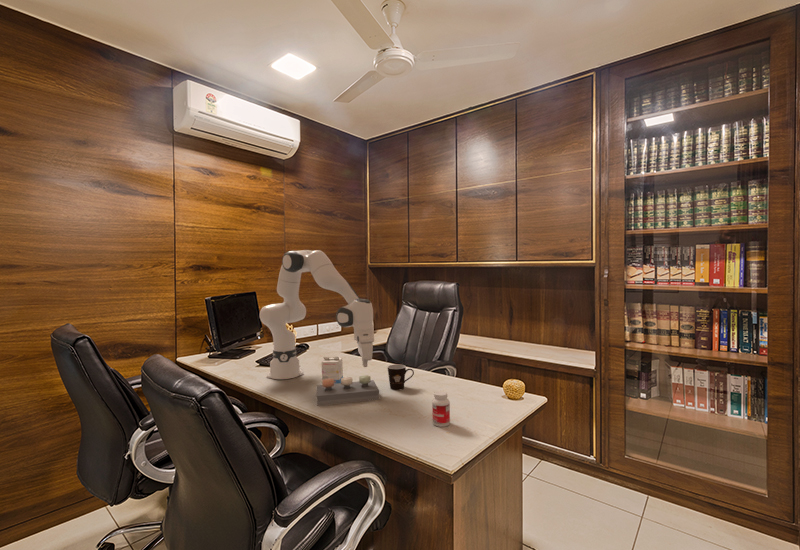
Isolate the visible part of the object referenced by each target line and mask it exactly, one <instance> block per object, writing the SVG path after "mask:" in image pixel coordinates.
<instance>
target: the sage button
mask: <svg viewBox="0 0 800 550" xmlns="http://www.w3.org/2000/svg"><path fill="white" fill-rule="evenodd" d="M358 382H359V383H362V387H368V383H370V382H371V375H360V376H359V377H358Z"/></svg>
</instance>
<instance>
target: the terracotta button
mask: <svg viewBox="0 0 800 550" xmlns="http://www.w3.org/2000/svg"><path fill="white" fill-rule="evenodd" d="M321 380H322V379H321ZM321 385H323V387H326V391H328V390H331V387H332V386H334V379H324V380H322V384H321Z"/></svg>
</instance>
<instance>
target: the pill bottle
mask: <svg viewBox="0 0 800 550" xmlns="http://www.w3.org/2000/svg"><path fill="white" fill-rule="evenodd" d="M433 397H434V398H433V399H432V401H431V402H432V406H431V407H432V409H431V410H432V415H431V416H432V424H433V425H434V426H436V427H439V428H445V427H448V426H450V424H451V411H450V410H451V409H450V407H451V406H450V405H451V402H450V400H449V398H448V392H446V391H444V390H443V391H442V390H436V391H435V392H434V394H433Z"/></svg>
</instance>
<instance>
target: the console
mask: <svg viewBox="0 0 800 550" xmlns="http://www.w3.org/2000/svg"><path fill="white" fill-rule="evenodd" d="M376 400H377V401H378V400H380V389H379V387H378V386H377V384H376V382H375V380H373V379H372V380H371V382H370V383H368V387H362V383H359V381H353V384H351V385H350V389H344V385H341V383H337V384H334V386H332V387H331V390H328V391H326V387H323V385H322V384H317V385H316V406H319V407H320V405H321V406H330V405H337V404H338V405H340V404H347V403H357V402H358V403H359V402H368V401H376Z"/></svg>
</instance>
